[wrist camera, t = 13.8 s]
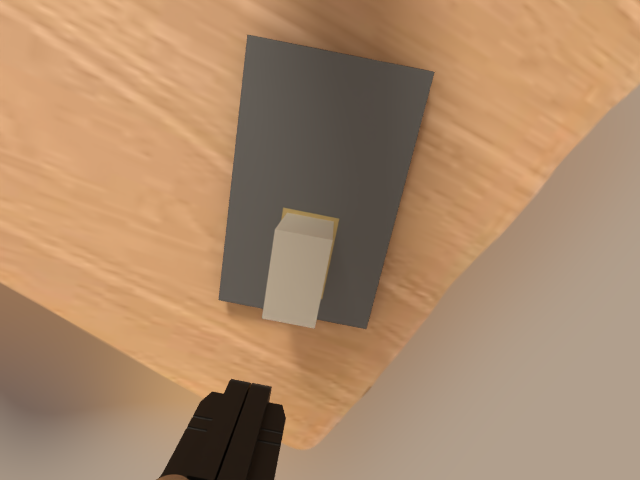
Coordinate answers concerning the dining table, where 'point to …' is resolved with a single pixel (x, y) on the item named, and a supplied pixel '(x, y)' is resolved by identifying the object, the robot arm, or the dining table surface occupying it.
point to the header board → (320, 166)
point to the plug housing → (297, 269)
